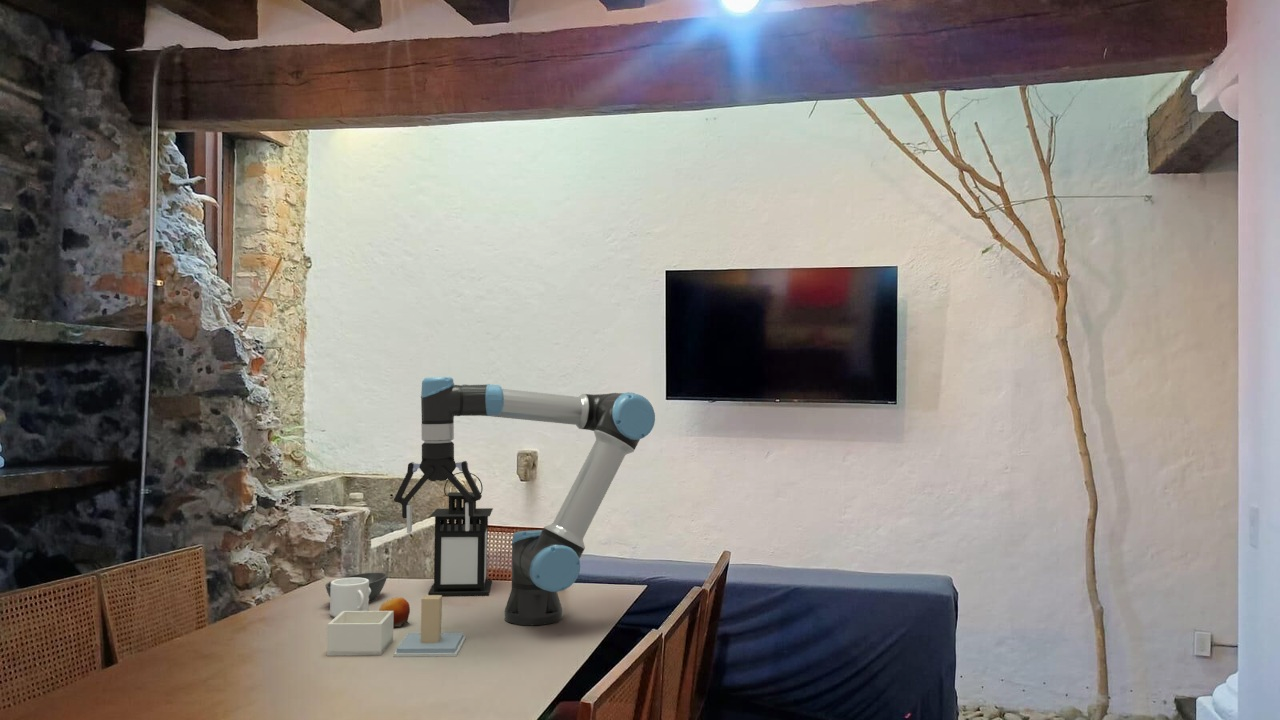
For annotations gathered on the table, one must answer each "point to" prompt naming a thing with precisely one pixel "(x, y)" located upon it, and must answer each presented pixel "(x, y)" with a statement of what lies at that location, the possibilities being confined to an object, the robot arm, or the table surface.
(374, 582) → the bowl
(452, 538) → the lantern
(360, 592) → the mug
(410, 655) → the mat
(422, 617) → the lid
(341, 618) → the white open storage bin
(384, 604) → the fruit
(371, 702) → the table surface
